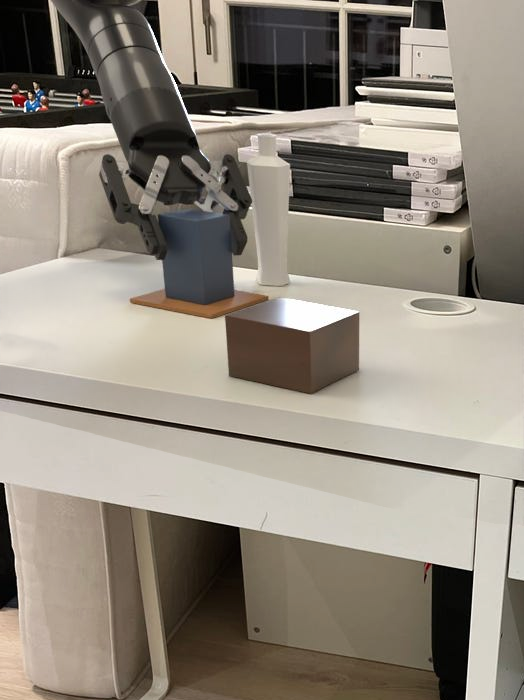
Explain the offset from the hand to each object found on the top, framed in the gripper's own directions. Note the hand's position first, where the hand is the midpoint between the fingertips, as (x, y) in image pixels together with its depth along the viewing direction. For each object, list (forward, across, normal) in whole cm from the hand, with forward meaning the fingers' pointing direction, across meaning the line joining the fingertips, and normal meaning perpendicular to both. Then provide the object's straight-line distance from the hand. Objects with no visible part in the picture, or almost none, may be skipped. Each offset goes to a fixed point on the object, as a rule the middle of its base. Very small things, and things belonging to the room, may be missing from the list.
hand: (202, 253), depth 98 cm
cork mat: (+3, 0, +4) cm, 5 cm away
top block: (+2, 0, +4) cm, 5 cm away
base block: (+21, -2, -14) cm, 25 cm away
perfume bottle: (-1, +11, +8) cm, 14 cm away
